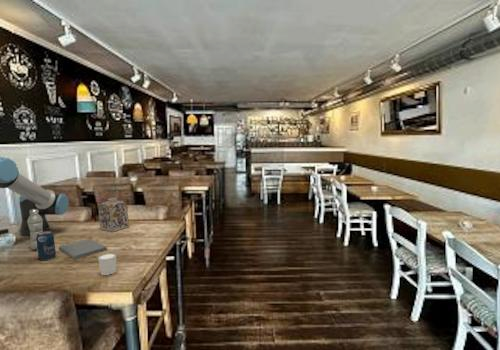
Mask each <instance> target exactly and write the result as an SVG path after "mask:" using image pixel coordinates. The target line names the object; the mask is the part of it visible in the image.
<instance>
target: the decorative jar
mask: <svg viewBox="0 0 500 350" xmlns="http://www.w3.org/2000/svg"><path fill="white" fill-rule="evenodd" d="M128 211H129V210H128V205H127V203H126V202H124V200H121V199H120V200H119V199H117V197H111V198H108V199H107V201H104V202H102V203H101V204H100V205H99V207H98V221H99V228H100V230H102V231H106V232H110V233H114V232H117V231H120V230H125V229H127V228H130V224H129V223H130V221H129V220H130V219H129V213H128Z"/></svg>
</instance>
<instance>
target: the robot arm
mask: <svg viewBox="0 0 500 350" xmlns="http://www.w3.org/2000/svg"><path fill="white" fill-rule="evenodd" d="M0 189H8V190H10V191H11V192H14V193H16V194H17V195H19V198H18V199H19V208H20V215H21V223H20V228H19V229H18V225H12V226H10V220H9V219H7V220H2V221H0V236H5V235H8V234H9V235H10V234H15V233H19V235H20V236H23V237H24V236H25V237H26V236H27V237H28V236H29V237H30V230H29V226H28V223H27V220H28V218H29V216H30V210H31V209H38V212H39V213H38V214H39V215H40V216H41V217H42V219H43V226H42V227H43V231H51V226H50V223H49V221H48V220H47V217H46V215H51V216H53V215H54V216H55V215H56V216H59V215H60V216H61V215H62V216H63V215H64V214H65V213H66V212H67V211H68V209H69V205H70V203H69V202H70V201H69V198H68V196H67V195H66V194H63V193H57V192H55V191H54V190H52V189H45V188H43V187H41V186H40V185H38V184H37V183H36V182H33V181H32V180H30V179H29V178H27V177H25V176H24V175H22V174H21V173H20V172H19V168H18V167H17V163H16V162H15V161H14V160H12V159H11V158H9V157H2V156H0ZM18 230H19V231H18Z"/></svg>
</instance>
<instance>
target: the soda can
mask: <svg viewBox="0 0 500 350" xmlns="http://www.w3.org/2000/svg"><path fill="white" fill-rule="evenodd" d="M36 240H37V248H38V250H37V255H38V258H39V259H40V260H41V261H48V260H52V259H54V258H55V257H56V255H57V252H56V243H55V234H53V232H52V230H50V231H43V232H39V233H38V234H37V237H36Z"/></svg>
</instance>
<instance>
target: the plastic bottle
mask: <svg viewBox="0 0 500 350" xmlns="http://www.w3.org/2000/svg"><path fill="white" fill-rule="evenodd" d="M38 213H39V212H38V209H31V210H30V216H29V218H28V220H27V223H28V226H29V230H30V236H29V237H30V243H29V244H30V245H29V246H30V249H31V250H33V251H36V250H37V251H38V248H37V240H36V237H37V234H38V233H39V232H43V227H42V226H43V219H42V217H41V216H40V215H39V214H38Z"/></svg>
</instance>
